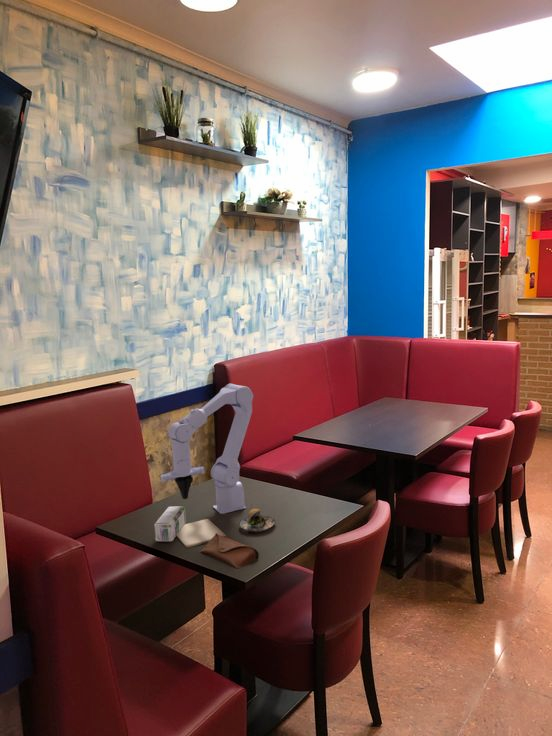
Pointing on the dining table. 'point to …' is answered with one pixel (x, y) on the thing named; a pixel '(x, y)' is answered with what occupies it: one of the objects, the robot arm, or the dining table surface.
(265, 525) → the burger
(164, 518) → the syrup box
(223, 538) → the sunglasses case
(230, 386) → the robot arm
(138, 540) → the dining table surface
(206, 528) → the beige folded napkin
